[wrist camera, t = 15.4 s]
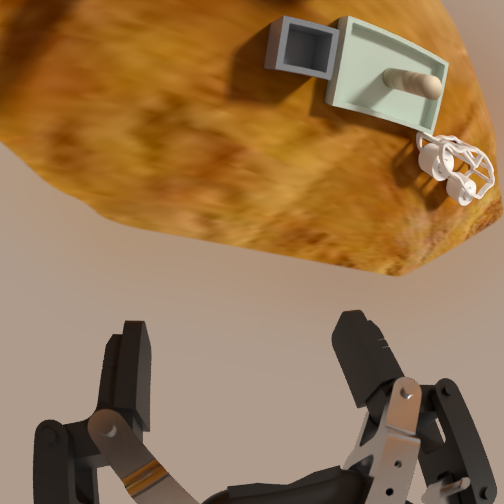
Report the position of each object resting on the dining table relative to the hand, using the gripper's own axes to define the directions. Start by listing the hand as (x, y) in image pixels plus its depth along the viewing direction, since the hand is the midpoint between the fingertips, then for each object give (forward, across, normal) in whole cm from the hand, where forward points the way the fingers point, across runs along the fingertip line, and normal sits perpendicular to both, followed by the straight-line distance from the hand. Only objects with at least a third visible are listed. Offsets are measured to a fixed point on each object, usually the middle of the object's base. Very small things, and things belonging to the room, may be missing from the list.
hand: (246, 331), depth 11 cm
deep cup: (+33, -10, -13) cm, 37 cm away
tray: (+33, -26, -13) cm, 44 cm away
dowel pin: (+32, -26, -13) cm, 43 cm away
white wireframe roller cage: (+34, -44, -2) cm, 56 cm away
